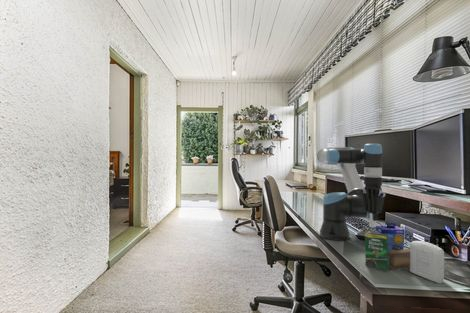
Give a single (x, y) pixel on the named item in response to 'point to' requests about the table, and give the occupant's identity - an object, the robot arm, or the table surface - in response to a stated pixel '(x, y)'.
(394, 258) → the walnut fence board
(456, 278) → the table surface
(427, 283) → the table surface
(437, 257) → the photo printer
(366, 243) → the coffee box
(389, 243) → the ink cartridge box
